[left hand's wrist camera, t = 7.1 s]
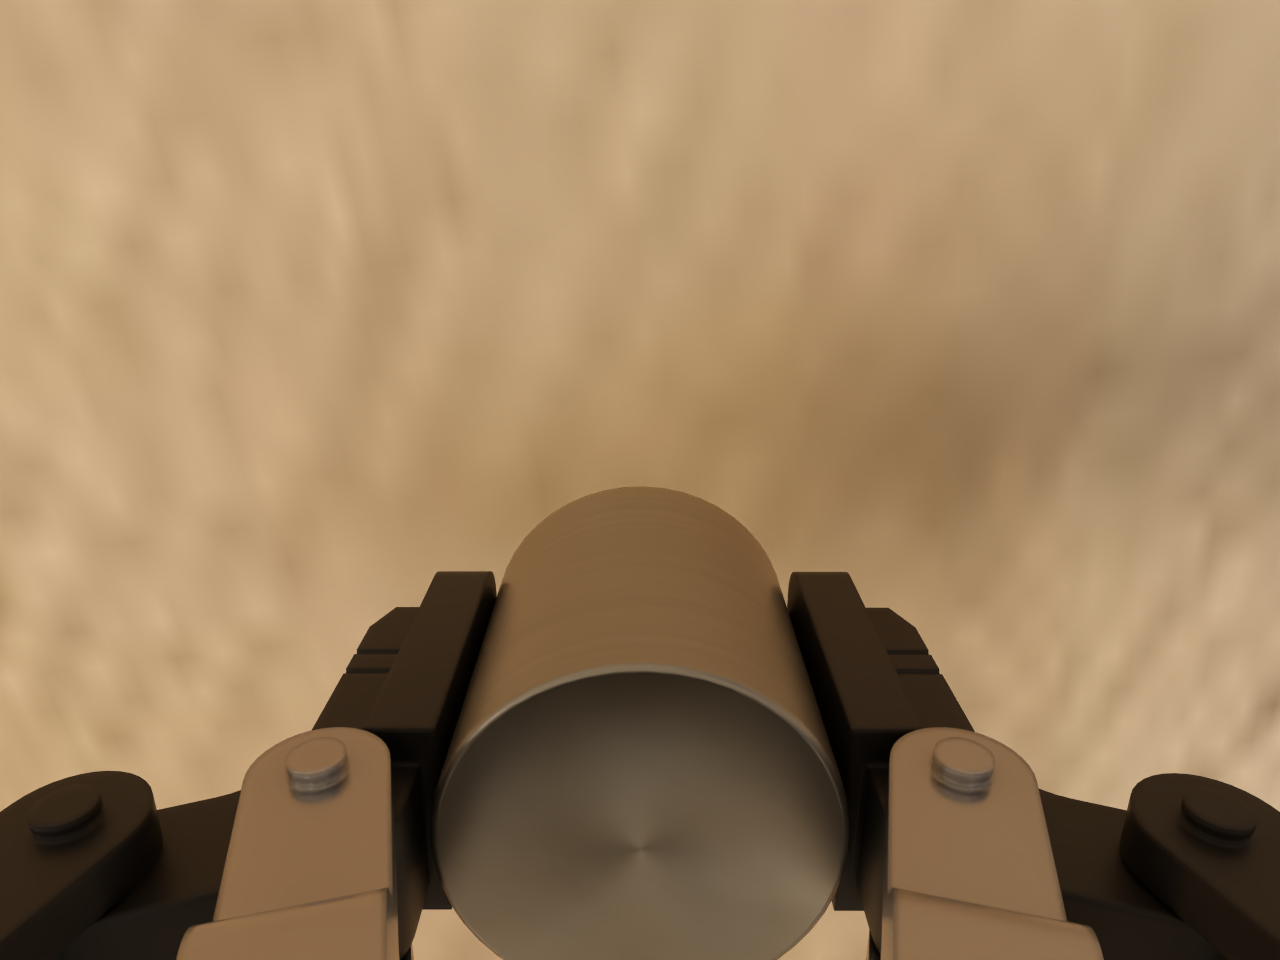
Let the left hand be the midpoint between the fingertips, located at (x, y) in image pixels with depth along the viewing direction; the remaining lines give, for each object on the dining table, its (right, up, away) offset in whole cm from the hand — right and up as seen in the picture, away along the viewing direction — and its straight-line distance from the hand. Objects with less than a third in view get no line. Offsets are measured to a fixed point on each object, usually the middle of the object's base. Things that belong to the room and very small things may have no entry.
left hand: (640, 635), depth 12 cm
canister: (0, 0, 0) cm, 0 cm away
